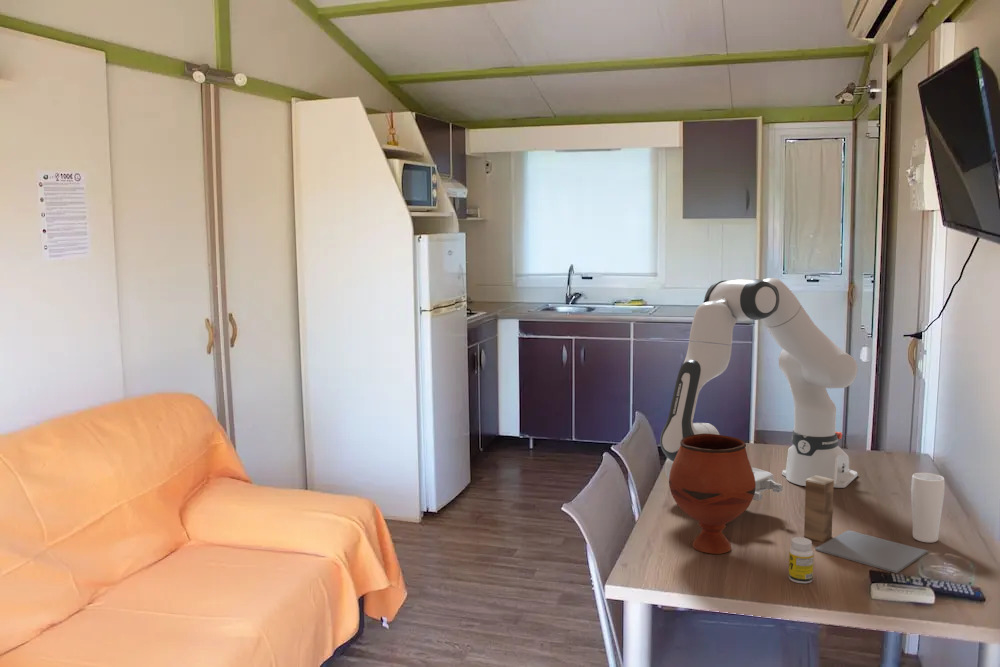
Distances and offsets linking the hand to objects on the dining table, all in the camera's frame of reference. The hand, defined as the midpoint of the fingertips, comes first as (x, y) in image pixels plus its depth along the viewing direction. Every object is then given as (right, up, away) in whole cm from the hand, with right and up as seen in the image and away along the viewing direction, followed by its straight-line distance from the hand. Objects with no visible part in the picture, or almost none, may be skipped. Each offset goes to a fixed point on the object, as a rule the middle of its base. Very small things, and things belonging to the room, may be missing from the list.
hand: (771, 492), depth 206 cm
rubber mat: (+17, -10, -17) cm, 26 cm away
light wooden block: (+8, -9, -8) cm, 15 cm away
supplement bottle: (-4, -12, -31) cm, 34 cm away
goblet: (-18, -10, -13) cm, 24 cm away
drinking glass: (+32, -9, -10) cm, 35 cm away
